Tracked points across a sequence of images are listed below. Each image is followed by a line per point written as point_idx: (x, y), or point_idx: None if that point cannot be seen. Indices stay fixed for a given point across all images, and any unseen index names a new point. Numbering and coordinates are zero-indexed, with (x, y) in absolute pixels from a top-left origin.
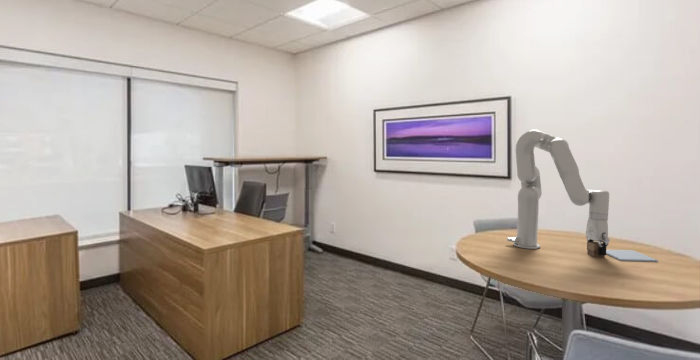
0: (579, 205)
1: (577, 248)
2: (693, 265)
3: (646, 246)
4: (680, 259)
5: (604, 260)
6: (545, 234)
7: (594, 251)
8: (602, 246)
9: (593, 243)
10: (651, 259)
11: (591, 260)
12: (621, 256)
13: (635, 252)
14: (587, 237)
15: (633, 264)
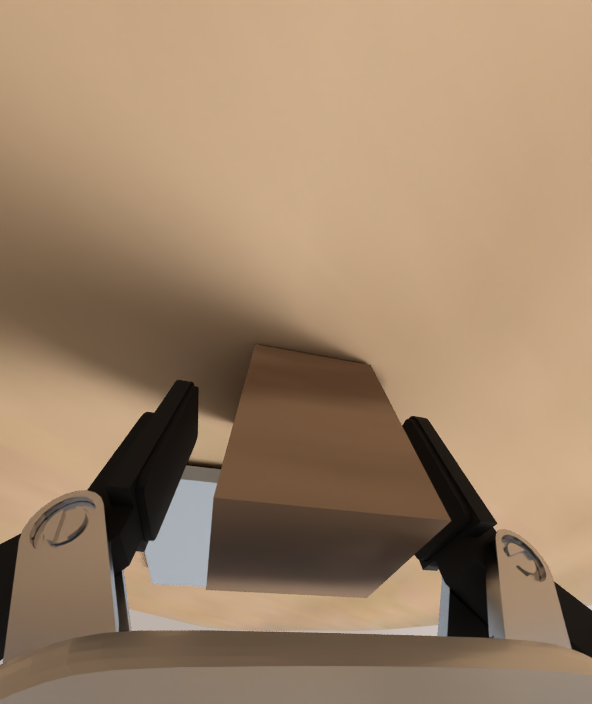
0: None
1: (553, 411)
2: (135, 609)
3: (387, 624)
4: (215, 616)
5: (136, 365)
6: None
7: (243, 393)
8: (43, 524)
9: (291, 522)
10: (158, 574)
11: (93, 202)
12: (208, 512)
13: None
14: (558, 674)
15: (67, 477)
